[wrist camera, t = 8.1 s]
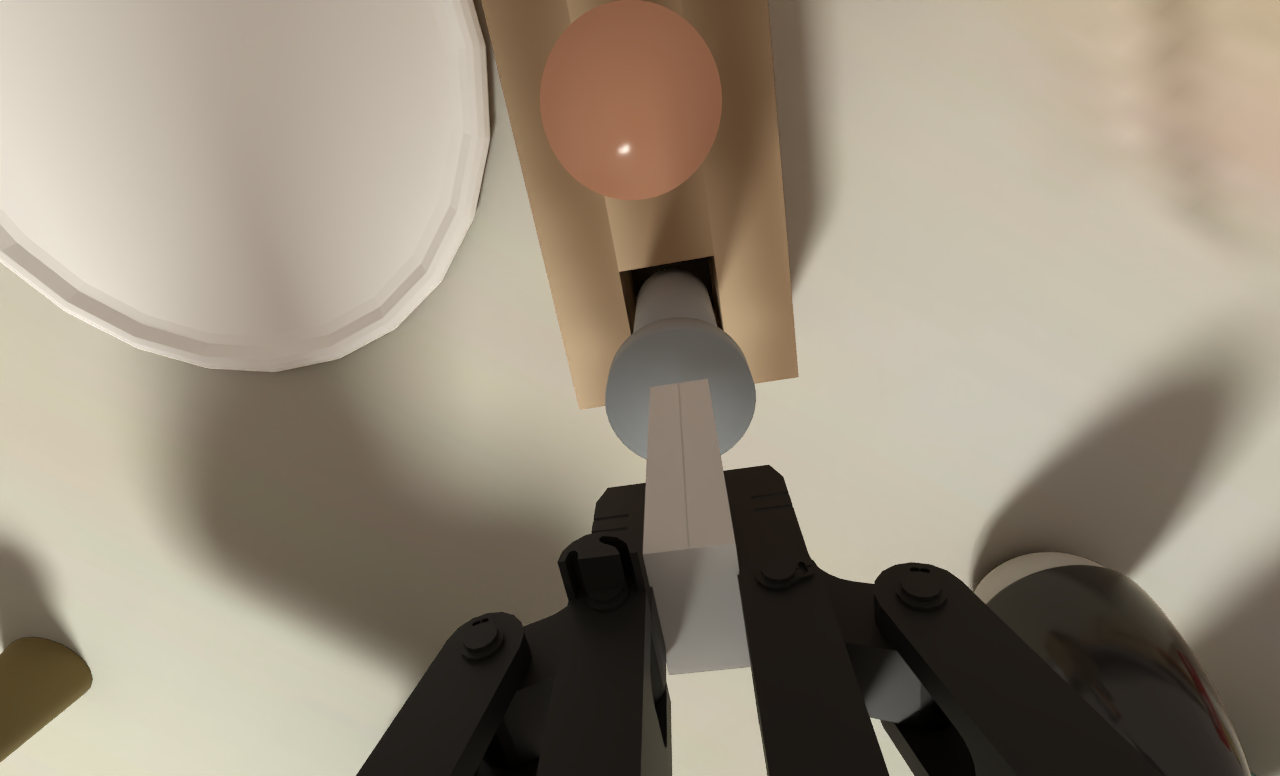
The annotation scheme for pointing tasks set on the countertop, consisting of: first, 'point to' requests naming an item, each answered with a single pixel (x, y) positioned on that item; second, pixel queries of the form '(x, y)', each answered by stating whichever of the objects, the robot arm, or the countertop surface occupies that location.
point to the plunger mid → (630, 99)
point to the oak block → (659, 197)
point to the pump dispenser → (1118, 659)
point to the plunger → (677, 361)
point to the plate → (240, 167)
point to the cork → (36, 688)
